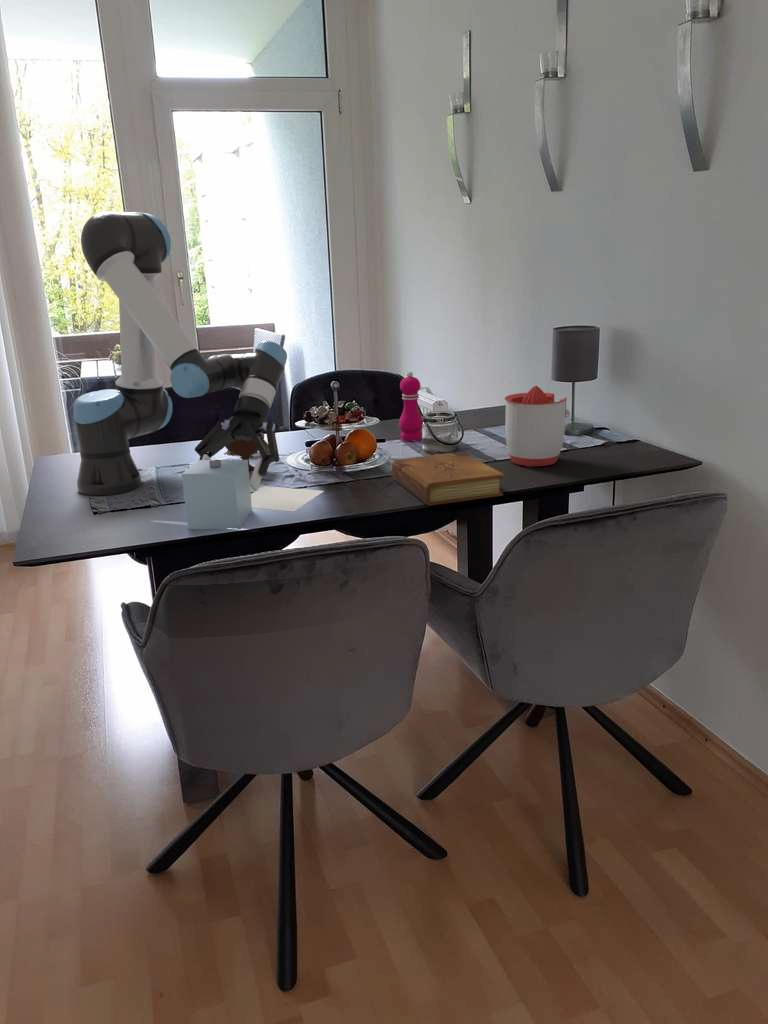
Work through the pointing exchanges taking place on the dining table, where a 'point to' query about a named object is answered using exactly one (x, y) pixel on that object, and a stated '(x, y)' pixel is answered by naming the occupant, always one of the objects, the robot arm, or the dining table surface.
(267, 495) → the mat
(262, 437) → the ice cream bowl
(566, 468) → the dining table surface
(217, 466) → the cover
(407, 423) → the pepper mill
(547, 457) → the citrus juicer
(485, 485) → the diary
